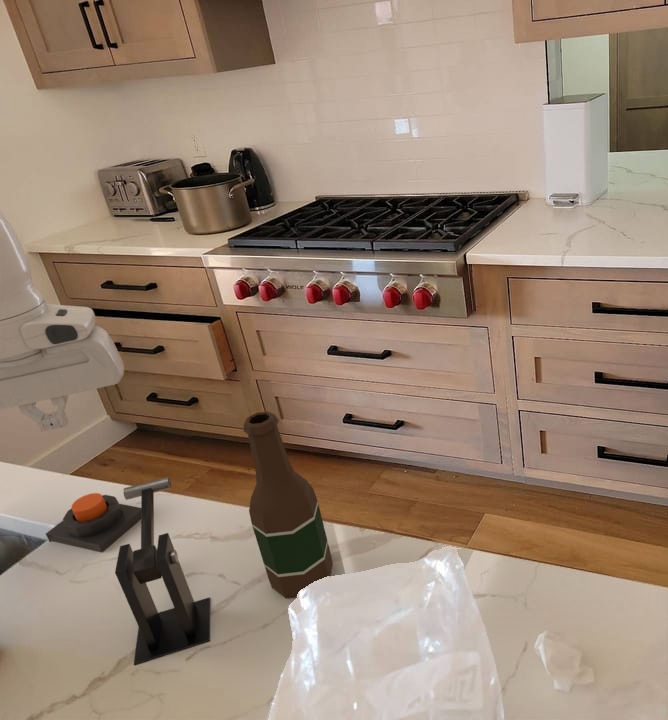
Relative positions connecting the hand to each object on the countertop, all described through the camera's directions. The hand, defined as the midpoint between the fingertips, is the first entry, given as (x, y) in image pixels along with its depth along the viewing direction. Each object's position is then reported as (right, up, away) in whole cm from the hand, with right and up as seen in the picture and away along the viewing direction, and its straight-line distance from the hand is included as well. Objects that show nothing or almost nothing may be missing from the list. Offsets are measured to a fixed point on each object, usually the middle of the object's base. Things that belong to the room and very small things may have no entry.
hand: (55, 427), depth 89 cm
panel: (+2, -16, +8) cm, 18 cm away
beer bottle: (+34, -19, -4) cm, 39 cm away
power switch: (+21, -23, -11) cm, 33 cm away
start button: (+1, -13, +6) cm, 14 cm away
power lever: (+18, -11, -11) cm, 24 cm away
